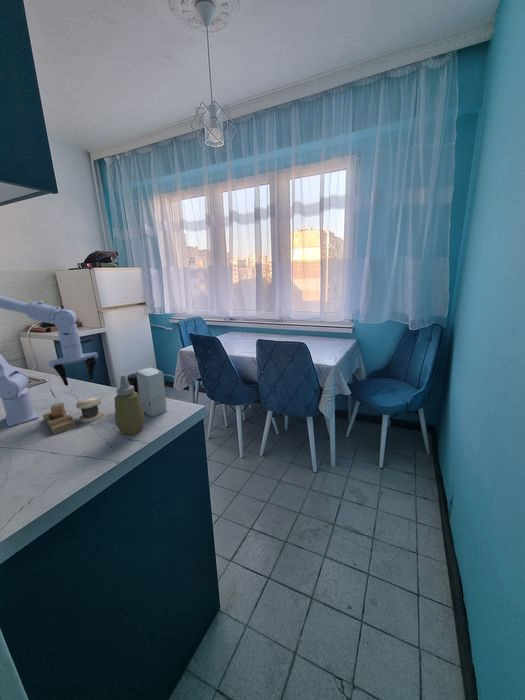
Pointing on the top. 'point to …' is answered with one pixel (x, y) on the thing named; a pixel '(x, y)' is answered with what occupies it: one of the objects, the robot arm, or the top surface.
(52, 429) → the notched board
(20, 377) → the robot arm
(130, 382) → the supplement bottle
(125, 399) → the squeeze bottle
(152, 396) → the skincare box
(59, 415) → the brown wooden block
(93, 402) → the spool
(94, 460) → the top surface
